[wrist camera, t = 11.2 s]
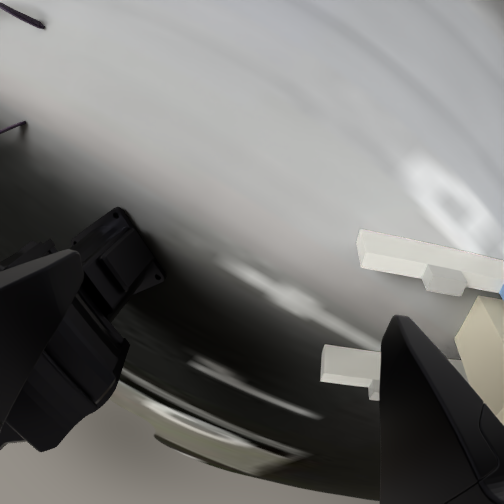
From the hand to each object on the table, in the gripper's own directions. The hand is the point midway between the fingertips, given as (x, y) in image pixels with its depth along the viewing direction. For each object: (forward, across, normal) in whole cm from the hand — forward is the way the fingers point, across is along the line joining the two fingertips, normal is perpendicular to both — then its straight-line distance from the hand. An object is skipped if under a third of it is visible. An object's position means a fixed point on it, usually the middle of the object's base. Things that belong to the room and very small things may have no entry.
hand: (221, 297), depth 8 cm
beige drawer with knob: (+12, -18, +8) cm, 23 cm away
